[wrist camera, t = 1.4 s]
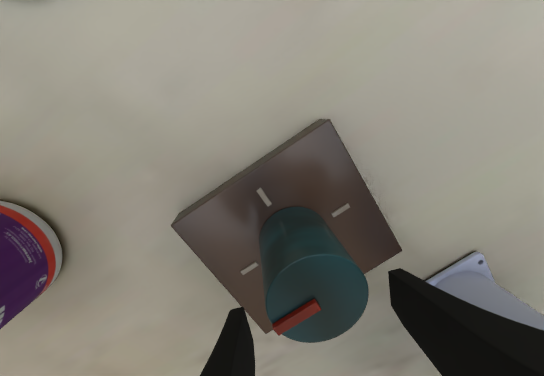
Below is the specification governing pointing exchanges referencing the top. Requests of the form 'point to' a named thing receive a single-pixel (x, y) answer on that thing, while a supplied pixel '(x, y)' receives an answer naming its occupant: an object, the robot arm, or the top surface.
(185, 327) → the top surface
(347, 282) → the jar
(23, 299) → the pill bottle
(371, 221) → the stand
